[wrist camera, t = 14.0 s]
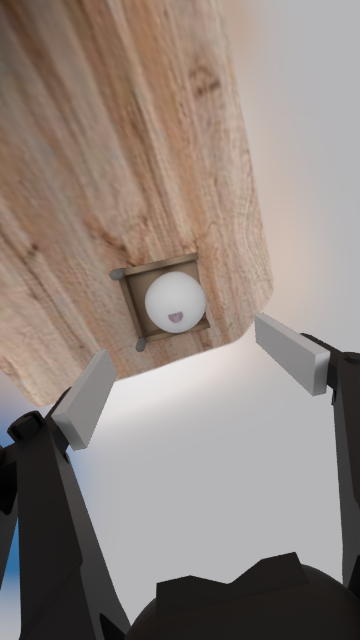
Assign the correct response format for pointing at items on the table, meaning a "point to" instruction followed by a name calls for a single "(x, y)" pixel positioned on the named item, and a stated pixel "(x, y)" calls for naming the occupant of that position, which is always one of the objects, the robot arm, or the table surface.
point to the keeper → (137, 286)
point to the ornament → (175, 302)
